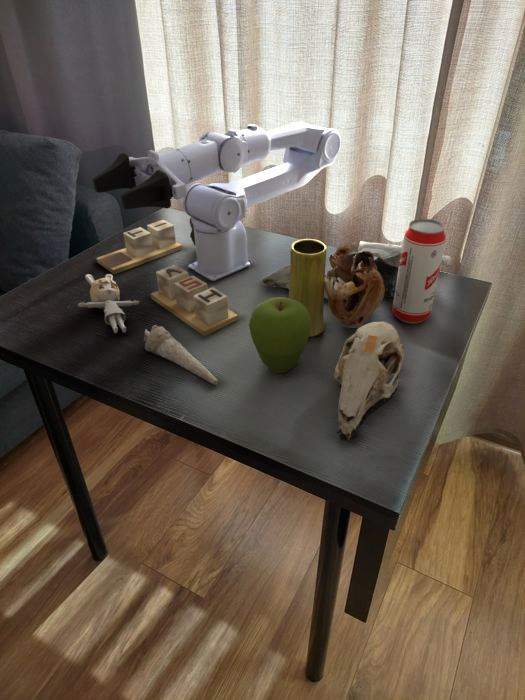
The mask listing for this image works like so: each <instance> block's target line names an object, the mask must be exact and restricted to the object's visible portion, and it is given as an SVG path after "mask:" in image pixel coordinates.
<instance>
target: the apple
mask: <svg viewBox="0 0 525 700" xmlns="http://www.w3.org/2000/svg"><path fill="white" fill-rule="evenodd" d="M248 328H249V333H250V336H251V341H252V343H253V345H254V348H255V350H256V352H257V354H258V356H259V358H260V360H261V362H262V363H263V364H264V365H265V366H266V367H267V368H268V369H270V370H271V371H272V372H273V373H277V374H285V373H287V372H289V371H290V370H291V369H292V368H294V367H296V365H297V364H298V362H299V361H300V360H301V357H302V355H303V353H304V351H305V349H306V347H307V345H308V341H309V338H310V337H309V332H310V328H311V318H310V315H309V312H308V310H307V308H306V307H305V306H304V305H303V304H302V303H300V302H298V301H297V300H294V299H292V298H289V297H286V296H285V297H284V296H283V297H281V296H280V297H279V296H278V297H277V296H276V297H273V298H269V299H267V300H265V301H262V302H261V303H259V304H258V305H257V306H256V307H255V308H254V309H253V310H252V313H251V316H250V317H249V323H248Z"/></svg>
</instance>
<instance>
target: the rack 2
mask: <svg viewBox="0 0 525 700" xmlns="http://www.w3.org/2000/svg"><path fill="white" fill-rule="evenodd" d="M155 274H156V281H157V287H158V290H155V291H154V292H151V293H150V299H151V300H152V301H154V302H156V303H157V304H158V305H160V306H161V307H163V308H164V309H165V310H167V311H168V312H170V313H171V314H172V315H174V316H175V317H177V318H178V319H179V320H181V321H182V322H184V323H185V324H186V325H188V326H189V327H190V328H192V329H193V330H195V331H196V332H198V333H199V334H200V335H202V336H203V337H206V336H208V335H210V334H212V333H215V332H216V331H218V330H220V329H222V328H225V327H226V326H228V325H230V324H232V323H234V322H235V323H236V322H237V321H238V320H239V314H237V313H235V312H234V311H232V310H231V309H229V299H228V296H227V295H226V294H225V293H223V292H221V291H220V290H218V289H216V288H214V287H210V288H207V290H205V291H203V292H201V293H198V294H196V295H194V296H193V300H194V309H195V311H192V312H188V311H187V310H185V309H184V308H182V307H181V306H180V305H178V304H177V303H176V295H175V288H174V283H176V282H179V281H181V280H184V279H186V278H189V277H190V276H189V272H188V271H187V270H185V269H184V268H181V267H180V266H178V265H176V264H173V265H170V266H168V267H165V268H162V269H160V270H157V271H155Z"/></svg>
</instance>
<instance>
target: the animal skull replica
mask: <svg viewBox="0 0 525 700" xmlns="http://www.w3.org/2000/svg"><path fill="white" fill-rule="evenodd" d="M403 362H404V346H403V343H402V342H401V339H400V335H399V332H398V331H397V329H396V328H395V326H394V325H393V324H391V323H389V322H387V321H384V320H382V321H372V322H368V323H366V324H363V325H362V326H361V327H359V328H357V329H356V331H355V333H354V334H352V335H351V336H349V337H348V338H347V339H346V340H345V342H344V343H343V347H342V350H341V353H340V355H339V357H338V361H337V363H336V366H335V368H334V374H333V377H334V379H335V380H336V381H337V383H339V387H340V392H339V393H340V394H339V399H338V409H337V410H338V431H337V432H336V434H338V435H339V437H340V440H346V441H349V440H350V438H353V439H356V437H357V436H358V435H359V428H360V426H362V425H363V423H364V421H365V420H366V419H367V418H368V417H369V416H370V415H371V414H372V413H374V412H375V411H376V410H377V409H379V407H380V406H381V405H382V403H386V402H387V401H388V400H390V399H392V397H393V396H395V393H396V392H397V390H398V385H399V380H400V374H401V372H402V369H401V368H402V365H403Z"/></svg>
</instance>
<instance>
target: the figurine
mask: <svg viewBox="0 0 525 700" xmlns="http://www.w3.org/2000/svg"><path fill="white" fill-rule="evenodd" d="M402 242H403V239H402ZM401 250H402V244H401V245H397V244H391V243H390V242H389V243H387V244H386V243H381V242H367V241H364V240H360V241H359V244H358V250H357V253H359V252H362V251H368V252H371V253H373V254H377V255H381V256H382V257H388V256H393V255H395V254H399V253H401ZM442 265H443V266H445V267H447V268H451V267H452V266H453V262H452V257H451V256H450V255H443V256H442V261H441V266H442Z"/></svg>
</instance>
